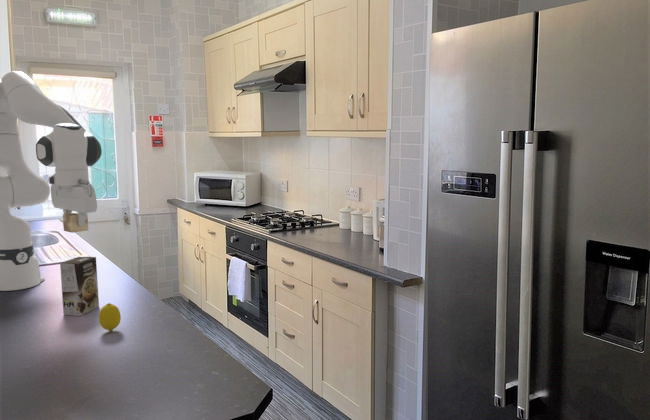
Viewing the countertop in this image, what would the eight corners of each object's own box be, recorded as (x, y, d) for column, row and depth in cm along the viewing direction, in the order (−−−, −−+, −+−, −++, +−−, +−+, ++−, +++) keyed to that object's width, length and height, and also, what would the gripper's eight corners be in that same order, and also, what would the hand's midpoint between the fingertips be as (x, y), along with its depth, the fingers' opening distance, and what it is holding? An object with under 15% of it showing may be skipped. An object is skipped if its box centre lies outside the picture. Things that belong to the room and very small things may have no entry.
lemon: (125, 329, 153) (124, 301, 151) (112, 336, 147) (110, 307, 146) (109, 326, 154) (107, 299, 153) (95, 333, 149) (93, 305, 148)
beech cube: (63, 230, 164) (62, 214, 163) (80, 228, 168) (78, 212, 167) (72, 232, 161) (70, 215, 160) (88, 230, 165) (87, 213, 164)
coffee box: (81, 316, 163) (78, 263, 161) (62, 315, 164) (58, 262, 162) (100, 306, 172) (96, 256, 170) (81, 305, 173) (78, 255, 171)
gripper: (101, 180, 158) (104, 227, 160) (66, 176, 171) (69, 220, 173) (80, 181, 153) (83, 230, 155) (45, 178, 166) (49, 223, 168)
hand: (75, 225), depth 164 cm, fingers closed on beech cube, 5 cm apart
